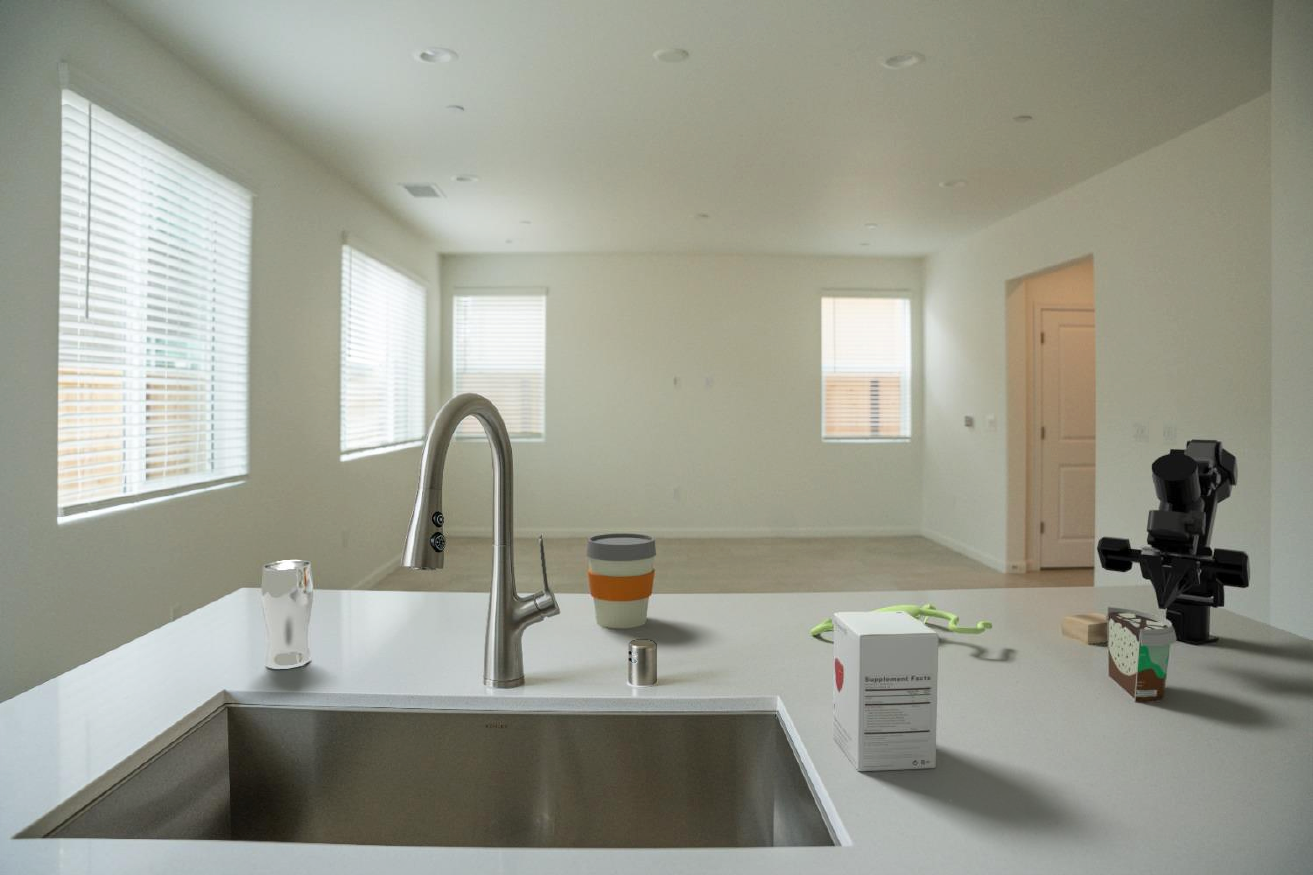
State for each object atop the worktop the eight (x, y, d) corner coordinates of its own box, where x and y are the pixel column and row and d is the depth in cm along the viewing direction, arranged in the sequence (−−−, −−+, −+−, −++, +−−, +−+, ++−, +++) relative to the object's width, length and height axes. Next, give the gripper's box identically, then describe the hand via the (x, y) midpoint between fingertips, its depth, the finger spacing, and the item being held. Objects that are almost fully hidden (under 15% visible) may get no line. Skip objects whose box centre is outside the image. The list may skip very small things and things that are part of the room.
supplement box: (830, 736, 90) (831, 610, 89) (903, 733, 90) (905, 609, 90) (856, 773, 81) (858, 633, 80) (938, 770, 81) (940, 631, 81)
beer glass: (324, 659, 116) (322, 562, 115) (285, 673, 110) (283, 570, 109) (292, 653, 119) (290, 558, 118) (252, 666, 113) (250, 566, 112)
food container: (1192, 710, 98) (1195, 633, 97) (1139, 706, 99) (1142, 630, 99) (1150, 676, 110) (1153, 608, 109) (1104, 673, 111) (1106, 605, 111)
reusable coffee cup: (572, 620, 138) (572, 538, 137) (625, 608, 146) (625, 530, 146) (616, 636, 128) (616, 547, 128) (670, 622, 137) (670, 539, 136)
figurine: (1006, 656, 120) (1007, 621, 120) (850, 667, 114) (851, 631, 114) (938, 623, 138) (939, 593, 138) (801, 631, 132) (802, 600, 132)
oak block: (1095, 632, 132) (1096, 612, 132) (1122, 640, 128) (1123, 620, 128) (1061, 637, 129) (1062, 617, 129) (1087, 645, 125) (1088, 624, 125)
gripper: (1101, 485, 120) (1080, 565, 113) (1250, 495, 107) (1238, 585, 100) (1112, 529, 126) (1093, 607, 119) (1254, 543, 114) (1243, 632, 106)
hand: (1161, 607), depth 111 cm, fingers closed
